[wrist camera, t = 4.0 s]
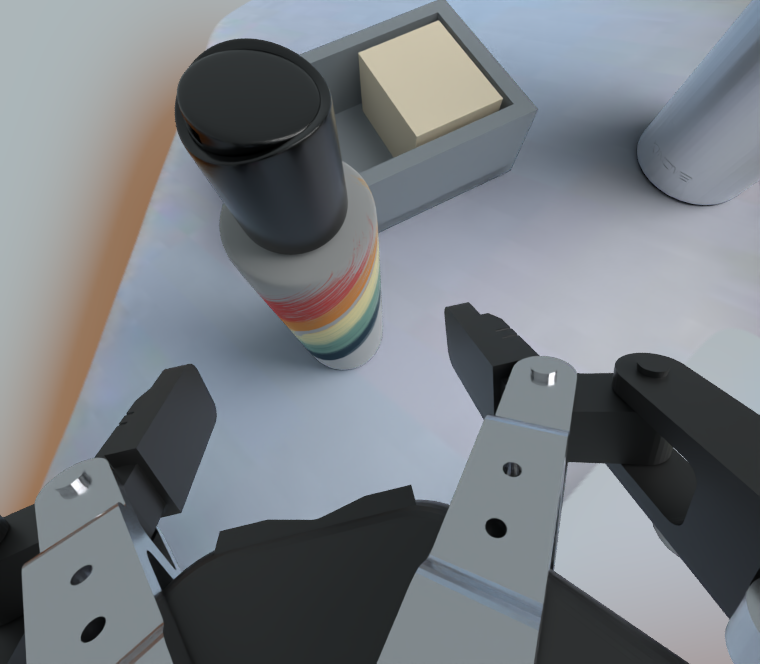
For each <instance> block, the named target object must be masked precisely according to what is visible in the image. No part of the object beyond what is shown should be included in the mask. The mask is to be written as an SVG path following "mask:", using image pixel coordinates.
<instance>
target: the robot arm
mask: <svg viewBox="0 0 760 664" xmlns="http://www.w3.org/2000/svg"><path fill="white" fill-rule="evenodd" d="M637 156H638V161H639V164H640V166H641V168H642V170H643V172H644V174H645V175H646V176H647V178H648V179H649V180H650V181H651V182H652V183H653V184H654V185H655V186H656V187H657V188H658V189H660V190H661V191H663V192H664V193H666V194H667V195H669V196H671V197H674V198H676V199H678V200H680V201H684V202H688V203H691V204H699V205H712V204H719V203H723V202H726V201H729V200H731V199H733V198H734V197H736V196H738V195H739V194H741V193H742V192H743V191H745V190H746V189H748V188H749V187H751V186H752V185H753V184H755V183H756V182H758V181H759V180H760V0H752V1H751V2H750V4H749V5H748V6H747V7H746V9H745V10H744V11H743V12H742V13H741V15H740V16H739V17H738V18H737V19H736V21H735V22H734V23H733V24H732V26H731V27H730V28H729V29H728V30H727V32H726V33H725V34H724V35H723V36H722V38H721V39H720V40H719V41H718V42H717V44H716V45H715V46H714V47H713V49H712V50H711V51H710V52H709V53H708V55H707V56H706V57H705V58H704V59H703V61H702V62H701V63H700V64H699V65H698V67H697V68H696V69H695V70H694V72H693V73H692V74H691V75H690V76H689V78H688V79H687V80H686V81H685V82H684V84H683V85H682V86H681V87H680V88H679V90H678V91H677V92H676V93H675V94H674V96H673V97H672V98H671V99H670V100H669V102H668V103H667V104H666V105H665V106H664V108H663V109H662V110H661V111H660V113H659V114H658V115H657V116H656V117H655V119H654V120H653V121H652V122H651V123H650V125H649V126H648V127H647V128H646V130H645V131H644V132H643V134H642V135H641V137H640V139H639V142H638V146H637ZM444 314H445V325H446V335H447V345H448V353H449V357H450V361H451V364H452V366H453V368H454V370H455V372H456V373H457V375H458V377H459V378H460V380H461V382H462V383H463V385H464V387H465V389H466V390H467V392H468V394H469V395H470V397H471V399H472V401H473V402H474V404H475V406H476V407H477V409H478V411H479V412H480V414H481V416H482V418H483V419H484V421H483V424H482V426H481V429H480V431H479V434H478V436H477V439H476V441H475V444H474V446H473V449H472V451H471V454H470V456H469V459H468V461H467V464H466V466H465V469H464V471H463V474H462V476H461V479H460V481H459V484H458V486H457V489H456V491H455V494H454V496H453V499H452V501H451V504H450V505H448V504H445V503H441V502H437V501H429V500H415V498H414V494H413V490H412V486H411V485H408V486H404V487H400V488H396V489H392V490H388V491H384V492H380V493H375V494H371V495H367V496H364V497H362V498H360V499H358V500H356V501H354V502H352V503H350V504H348V505H346V506H344V507H342V508H340V509H338V510H336V511H334V512H332V513H330V514H327V515H325V516H323V517H321V518H319V519H315V520H265V521H261V522H257V523H252V524H248V525H244V526H240V527H236V528H232V529H228V530H224V531H220V533H219V537H218V541H217V544H216V548H215V551H213V552H211V553H209V554H207V555H206V556H204V557H202V558H201V559H199V560H197V561H196V562H195V563H193V564H192V565H190V566H189V567H188V568H186V569H185V570H184V571H183V572H181V570H180V568H179V566H178V564H177V562H176V560H175V558H174V556H173V554H172V552H171V549H170V547H169V545H168V543H167V541H166V539H165V537H164V535H163V533H162V532H161V531H160V529H159V528H158V527H157V524H158V522H159V520H160V518H162V517H166V516H170V515H174V514H178V513H181V512H182V509H183V507H184V504H185V501H186V499H187V496H188V494H189V491H190V488H191V486H192V483H193V480H194V478H195V475H196V473H197V470H198V467H199V465H200V462H201V459H202V457H203V454H204V452H205V449H206V446H207V444H208V441H209V438H210V436H211V433H212V431H213V428H214V425H215V423H216V417H217V413H216V407H215V404H214V401H213V399H212V397H211V395H210V393H209V391H208V389H207V387H206V386H205V384H204V382H203V380H202V378H201V376H200V374H199V372H198V370H197V368H196V367H195V366H194V365H193V364H187V365H182V366H178V367H173V368H169V369H165V370H164V371H163V372H162V373H161V374H160V376H159V377H158V379H157V380H156V382H155V383H154V384H153V386H152V387H151V389H149V390H148V391H147V392H146V393H144V394H143V395H142V396H141V397H140V398H138V399H137V400H136V401H135V402H134V404H133V405H132V406H131V408H130V409H129V411H128V412H127V415H126V416H124V418H123V419H122V420H121V422H120V423H119V426H117V427H116V429H115V430H114V431H113V433H112V434H111V435H110V437H109V438H108V440H107V441H106V442H105V444H104V445H103V447H102V448H101V449H100V451H99V452H98V453H97V455H96V456H95V458H92V459H88V460H85V461H82V462H79V463H77V464H75V465H73V466H71V467H69V468H68V469H66V470H64V471H63V472H61V473H60V474H58V475H57V476H56V477H54V478H53V479H52V480H51V481H50V482H49V483H47V484H46V486H45V487H44V488H43V489H42V490H41V491H40V493H39V494H38V496H37V498H36V500H35V504H33V505H31V506H29V507H26V508H24V509H22V510H20V511H17V512H15V513H12V514H10V515H8V516H6V517H2V516H1V515H0V664H689V663H688V662H686V661H685V660H683V659H682V658H680V657H679V656H677V655H676V654H674V653H673V652H671V651H670V650H669V649H667V648H666V647H664V646H663V645H661V644H660V643H658V642H657V641H655V640H654V639H653V638H651V637H649V636H648V635H647V634H645V633H644V632H642V631H641V630H639V629H638V628H636V627H635V626H633V625H632V624H630V623H629V622H628V621H626V620H625V619H623V618H622V617H620V616H619V615H617V614H616V613H614V612H613V611H612V610H610V609H609V608H607V607H606V606H604V605H602V604H601V603H600V602H598V601H597V600H595V599H594V598H593V597H591V596H590V595H588V594H587V593H585V592H584V591H582V590H581V589H579V588H578V587H576V586H575V585H574V584H572V583H570V582H569V581H568V580H566V579H565V578H563V577H562V576H560V575H559V574H557V573H556V572H554V566H555V558H556V550H557V542H558V533H559V525H560V517H561V510H562V503H563V495H564V488H565V481H566V473H567V466H568V462H584V463H605V464H606V465H607V466H608V467H609V469H610V470H611V471H612V472H613V474H614V475H615V476H616V477H617V479H618V480H619V481H620V482H621V484H622V485H623V486H624V487H625V489H626V490H627V491H628V493H629V494H630V495H631V496H632V498H633V499H634V500H635V501H636V503H637V504H638V505H639V506H640V508H641V509H642V510H643V511H644V512H645V514H646V515H647V516H648V518H649V519H650V520H651V521H652V523H653V524H654V525H655V526H656V528H657V529H658V530H659V531H660V533H661V534H662V535H663V536H664V538H665V539H666V540H667V541H668V543H669V544H670V545H671V546H672V548H673V549H674V550H675V551H676V553H677V554H678V555H679V556H680V558H681V559H682V560H683V561H684V563H685V564H686V565H687V567H688V568H689V569H690V570H691V572H692V573H693V574H694V575H695V577H697V579H698V580H699V582H700V583H701V584H702V585H703V587H704V588H705V589H706V590H707V592H708V593H709V594H710V595H711V597H712V598H713V599H714V600H715V602H716V603H717V604H718V605H719V607H720V608H721V609H722V610H723V612H725V614H726V615H727V617H728V618H729V619H730V620H729V622H728V624H727V627H726V632H725V639H726V645H727V648H728V652H729V655H730V657H731V659H732V661H733V663H734V664H760V415H758V414H757V413H755V412H754V411H753V410H751V409H749V408H748V407H747V406H745V405H744V404H742V403H741V402H739V401H738V400H736V399H734V398H733V397H732V396H730V395H729V394H727V393H726V392H724V391H723V390H721V389H720V388H718V387H717V386H715V385H714V384H712V383H711V382H709V381H708V380H706V379H705V378H703V377H702V376H700V375H699V374H697V373H696V372H694V371H693V370H691V369H690V368H688V367H686V366H685V365H684V364H682V363H680V362H679V361H677V360H674V359H672V358H669V357H666V356H662V355H658V354H651V353H633V354H628V355H625V356H622V357H621V358H619V359H618V360H617V361H616V363H615V368H614V373H595V374H580V373H576V370H575V369H574V368H573V367H572V366H571V365H570V364H569V363H567V362H565V361H563V360H561V359H558V358H554V357H549V356H539V355H538V354H537V353H536V352H535V351H534V350H533V349H532V348H531V347H530V346H529V345H528V344H527V343H526V342H525V341H524V340H523V339H522V338H521V337H520V336H519V335H518V336H517V333H516V332H515V331H514V330H513V329H510V326H508V325H507V324H506V323H505V322H504V321H503V320H502V319H501V318H498V317H496V316H494V315H491V314H489V313H487V314H482V315H480V314H479V313H478V311H477V310H476V309H475V308H474V307H473V306H472V305H471V304H470V303H469V302H467V303H462V304H458V305H453V306H449V307H446V308H445V311H444ZM673 448H675V449H676V450H677V451H678V452H679V453H680V454H681V455H682V456H683V457H684V458H685V459H686V460H687V461H688V462H687V461H686V460H685V459H684V458H683V457H682V456H681V455H680V454H679V453H678V452H677V451H676V450H675V449H673Z"/></svg>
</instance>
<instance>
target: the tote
mask: <svg viewBox="0 0 760 664" xmlns="http://www.w3.org/2000/svg"><path fill="white" fill-rule="evenodd" d="M438 20H439V21H440V22H441V24H442V25H443V26H444V27H445V29H446V30H447V31H448V32H449V33H450V35H451V36H452V37H453V38H454V40H455V41H456V42H457V43H458V44H459V46H460V47H461V48H462V49H463V50H464V52H465V53H466V54H467V55H468V57H469V58H470V59H471V60H472V61H473V63H474V64H475V65H476V66H477V68H478V69H479V70H480V71H481V72H482V74H483V75H484V76H485V77H486V79H487V80H488V81H489V82H490V83H491V85H492V86H493V87H494V88H495V89H496V91H497V92H498V93H499V94H500V96H501V97H502V98H503V100H502V103H501V106H500V109H499V111H497V112H495V113H493V114H491V115H488V116H486V117H484V118H482V119H479V120H477V121H475V122H473V123H470V124H468V125H466V126H464V127H461V128H459V129H457V130H455V131H453V132H450V133H448V134H446V135H444V136H441V137H439V138H437V139H435V140H432V141H430V142H428V143H426V144H424V145H421V146H419V147H417V148H415V149H412V150H410V151H408V152H406V153H403V154H401V155H399V156H397V157H393V156H392V154H391V153H390V151H389V150H388V148H387V147H386V145H385V144H384V142H383V141H382V139H381V138H380V136H379V135H378V133H377V132H376V130H375V129H374V127H373V126H372V124H371V123H370V121H369V120H368V118H367V117H366V115H365V114H364V112H363V109H362V96H361V83H360V70H359V57H358V53H359V52H361V51H364V50H366V49H369V48H371V47H374V46H376V45H379V44H381V43H384V42H386V41H389V40H391V39H394V38H396V37H399V36H401V35H403V34H406V33H408V32H411V31H413V30H416V29H418V28H421V27H423V26H426V25H428V24H431V23H433V22H436V21H438ZM300 56H301V57H303V58H304V59H306V60H307V61H308V62H309V63H311V64H312V65H313V66H314V67H315V68H316V69H317V70H318V71H319V72H320V74H321V75H322V76H323V78H324V79H325V81H326V83H327V85H328V87H329V89H330V92H331V96H332V101H333V107H334V113H335V119H336V126H337V132H338V138H339V145H340V151H341V157H342V161H343V162H345V163H346V164H348V165H349V166H351V167H352V168H353V169H354V170H356V171H357V172H358V173H359V174H360V175H361V177H362V178H363V179H364V181H365V182H366V184H367V185H368V187H369V189H370V191H371V193H372V196H373V199H374V202H375V207H376V214H377V225H378V233H379V232H381V231H383V230H385V229H387V228H389V227H392V226H394V225H396V224H398V223H400V222H402V221H404V220H406V219H409V218H411V217H413V216H415V215H417V214H419V213H421V212H423V211H425V210H428V209H430V208H432V207H434V206H436V205H438V204H440V203H442V202H445V201H447V200H449V199H451V198H453V197H455V196H457V195H459V194H462V193H464V192H466V191H468V190H470V189H472V188H474V187H476V186H478V185H481V184H483V183H485V182H487V181H489V180H491V179H493V178H495V177H498V176H500V175H502V174H504V173H506V172H508V171H510V170H511V168H512V166H513V164H514V161H515V159H516V157H517V155H518V153H519V150H520V148H521V146H522V144H523V141H524V139H525V137H526V135H527V133H528V130H529V128H530V126H531V124H532V121H533V119H534V117H535V115H536V113H537V110H538V109H537V107H536V106H535V105H534V104H533V103H532V101H531V100H530V99H529V98H528V97H527V96H526V94H525V93H524V92H523V91H522V90H521V88H520V87H519V86H518V85H517V84H516V83H515V81H514V80H513V79H512V78H511V77H510V76H509V74H508V73H507V72H506V71H505V70H504V68H503V67H502V66H501V65H500V64H499V63H498V61H497V60H496V59H495V58H494V57H493V56H492V54H491V53H490V52H489V51H488V50H487V48H486V47H485V46H484V45H483V44H482V43H481V41H480V40H479V39H478V38H477V37H476V35H475V34H474V33H473V32H472V31H471V30H470V28H469V27H468V26H467V25H466V24H465V23H464V21H463V20H462V19H461V18H460V17H459V15H458V14H457V13H456V12H455V11H454V10H453V8H452V7H451V6H450V5H449V4H448V3H447V1H446V0H436V1H434V2H431V3H429V4H426V5H424V6H421V7H419V8H416V9H414V10H411V11H409V12H406V13H404V14H401V15H398V16H396V17H393V18H391V19H388V20H386V21H383V22H381V23H378V24H376V25H373V26H371V27H368V28H366V29H363V30H361V31H358V32H356V33H353V34H351V35H348V36H346V37H343V38H341V39H338V40H335V41H333V42H330V43H328V44H325V45H323V46H320V47H318V48H315V49H313V50H310V51H308V52H305V53H303V54H300Z"/></svg>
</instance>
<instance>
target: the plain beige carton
mask: <svg viewBox="0 0 760 664" xmlns="http://www.w3.org/2000/svg"><path fill="white" fill-rule="evenodd" d="M358 57H359V70H360V83H361V96H362V109H363V112H364V114H365V115H366V117H367V118H368V120H369V121H370V123H371V124H372V126H373V127H374V129H375V130H376V132H377V133H378V135H379V136H380V138H381V139H382V141H383V142H384V144H385V145H386V147H387V148H388V150H389V151H390V153H391V154H392V156H393V157H397V156H399V155H401V154H403V153H406V152H408V151H410V150H412V149H415V148H417V147H419V146H421V145H424V144H426V143H428V142H430V141H432V140H435V139H437V138H439V137H441V136H444V135H446V134H448V133H450V132H453V131H455V130H457V129H459V128H461V127H464V126H466V125H468V124H470V123H473V122H475V121H477V120H479V119H482V118H484V117H486V116H488V115H491V114H493V113H495V112H497V111H499V109H500V106H501V103H502V100H503V98H502V97H501V96H500V94H499V93H498V92H497V91H496V89H495V88H494V87H493V86H492V85H491V83H490V82H489V81H488V80H487V79H486V77H485V76H484V75H483V74H482V72H481V71H480V70H479V69H478V68H477V66H476V65H475V64H474V63H473V61H472V60H471V59H470V58H469V57H468V55H467V54H466V53H465V52H464V50H463V49H462V48H461V47H460V46H459V44H458V43H457V42H456V41H455V40H454V38H453V37H452V36H451V35H450V33H449V32H448V31H447V30H446V29H445V27H444V26H443V25H442V24H441V22H440V21H439V20H438V21H436V22H433V23H431V24H428V25H426V26H423V27H421V28H418V29H416V30H413V31H411V32H408V33H406V34H403V35H401V36H399V37H396V38H394V39H391V40H389V41H386V42H384V43H381V44H379V45H376V46H374V47H371V48H369V49H366V50H364V51H361V52H359V53H358Z"/></svg>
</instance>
